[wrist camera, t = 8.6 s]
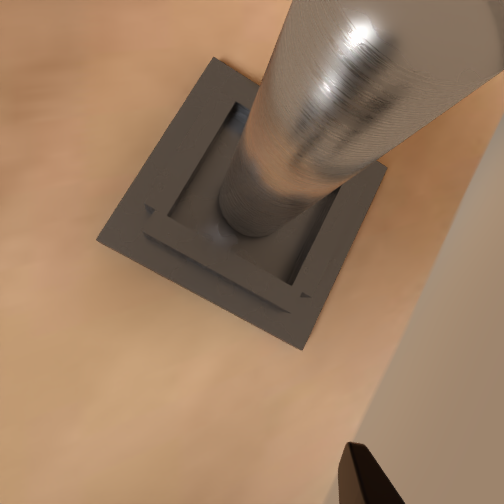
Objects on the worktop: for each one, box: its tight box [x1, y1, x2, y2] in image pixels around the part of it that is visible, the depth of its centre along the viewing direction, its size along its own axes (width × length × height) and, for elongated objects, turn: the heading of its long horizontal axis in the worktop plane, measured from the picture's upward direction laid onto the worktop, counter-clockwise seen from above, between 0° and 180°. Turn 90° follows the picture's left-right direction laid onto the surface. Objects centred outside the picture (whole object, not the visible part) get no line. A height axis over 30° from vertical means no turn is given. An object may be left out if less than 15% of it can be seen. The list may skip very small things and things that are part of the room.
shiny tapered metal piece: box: [219, 0, 504, 237], centre depth 13 cm, size 4×4×14 cm
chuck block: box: [96, 57, 387, 350], centre depth 19 cm, size 12×12×2 cm
